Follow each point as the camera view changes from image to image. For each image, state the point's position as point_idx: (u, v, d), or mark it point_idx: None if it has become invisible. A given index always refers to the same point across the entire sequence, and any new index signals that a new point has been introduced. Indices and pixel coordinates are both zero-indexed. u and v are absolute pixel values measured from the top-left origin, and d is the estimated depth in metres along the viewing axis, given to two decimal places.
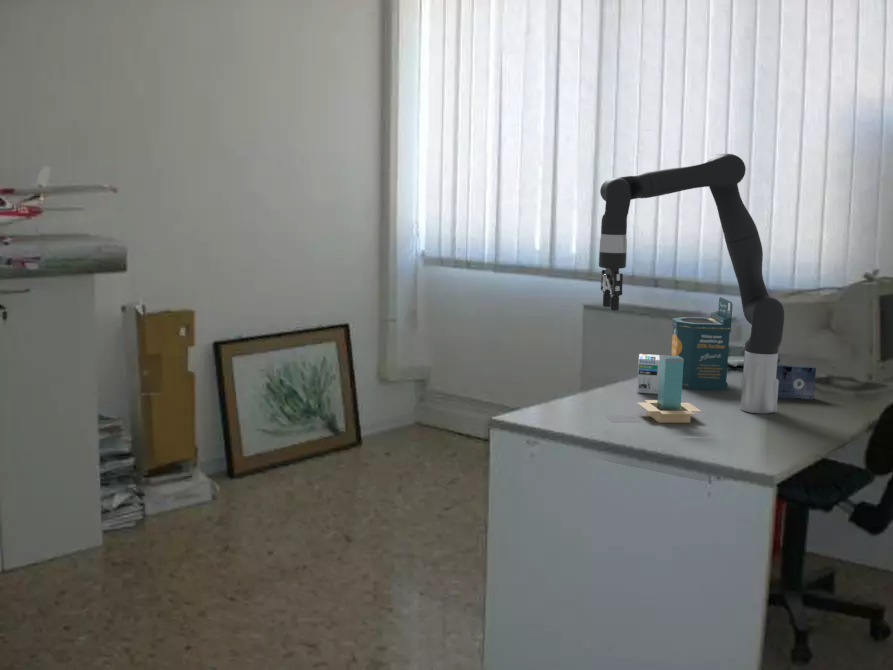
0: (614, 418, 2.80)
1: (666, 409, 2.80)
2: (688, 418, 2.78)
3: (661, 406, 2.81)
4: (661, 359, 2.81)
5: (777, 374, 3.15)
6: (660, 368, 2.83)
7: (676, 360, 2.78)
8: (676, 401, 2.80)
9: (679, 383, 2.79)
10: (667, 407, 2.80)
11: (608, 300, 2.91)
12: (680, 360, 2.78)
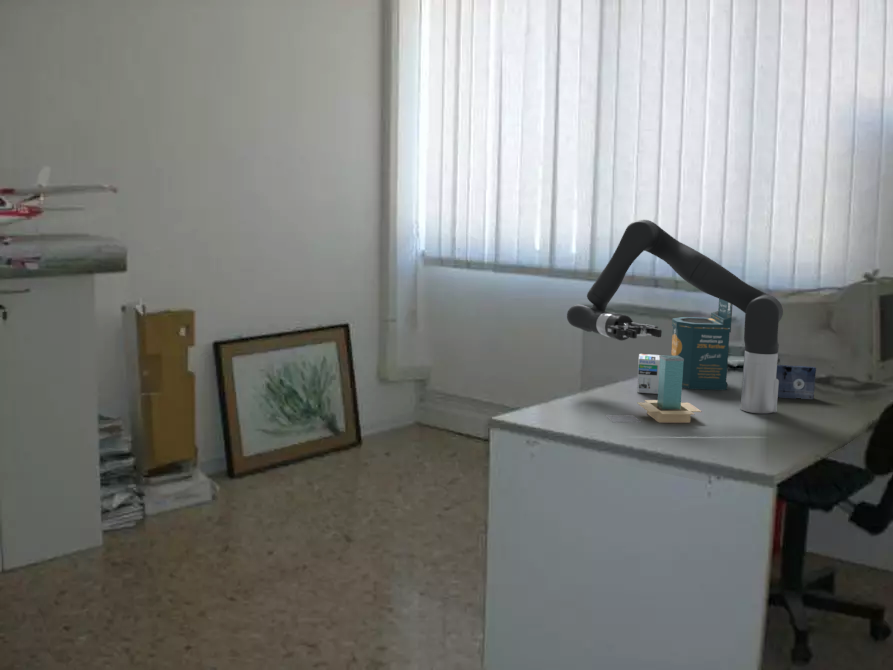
0: (614, 418, 2.80)
1: (666, 409, 2.80)
2: (688, 418, 2.78)
3: (661, 406, 2.81)
4: (661, 359, 2.81)
5: (777, 374, 3.15)
6: (660, 368, 2.83)
7: (676, 360, 2.78)
8: (676, 401, 2.80)
9: (679, 383, 2.79)
10: (667, 407, 2.80)
11: (655, 331, 2.93)
12: (680, 360, 2.78)
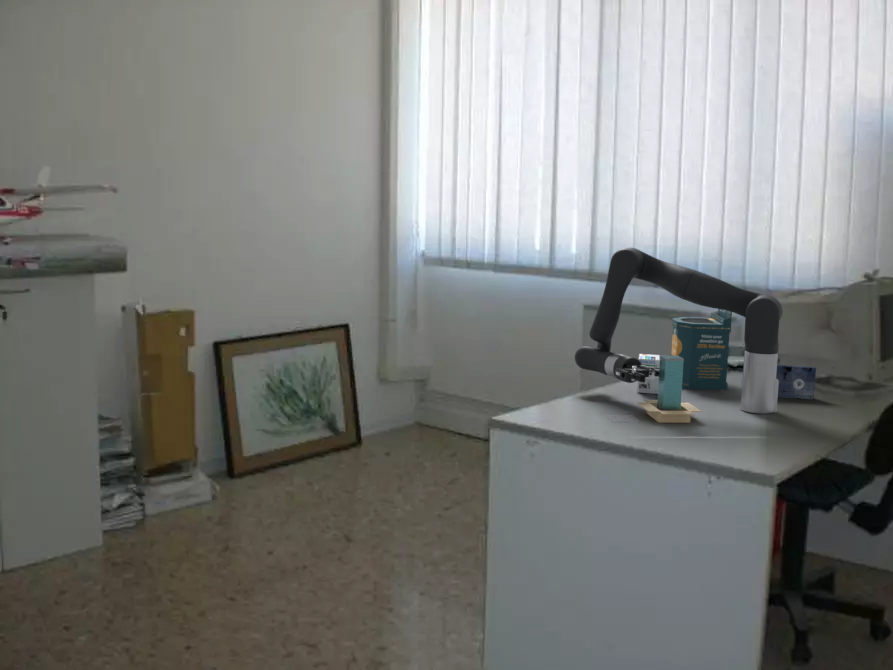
0: (614, 418, 2.80)
1: (666, 409, 2.80)
2: (688, 418, 2.78)
3: (661, 406, 2.81)
4: (661, 359, 2.81)
5: (777, 374, 3.15)
6: (660, 368, 2.83)
7: (676, 360, 2.78)
8: (676, 401, 2.80)
9: (679, 383, 2.79)
10: (667, 407, 2.80)
11: None
12: (680, 360, 2.78)
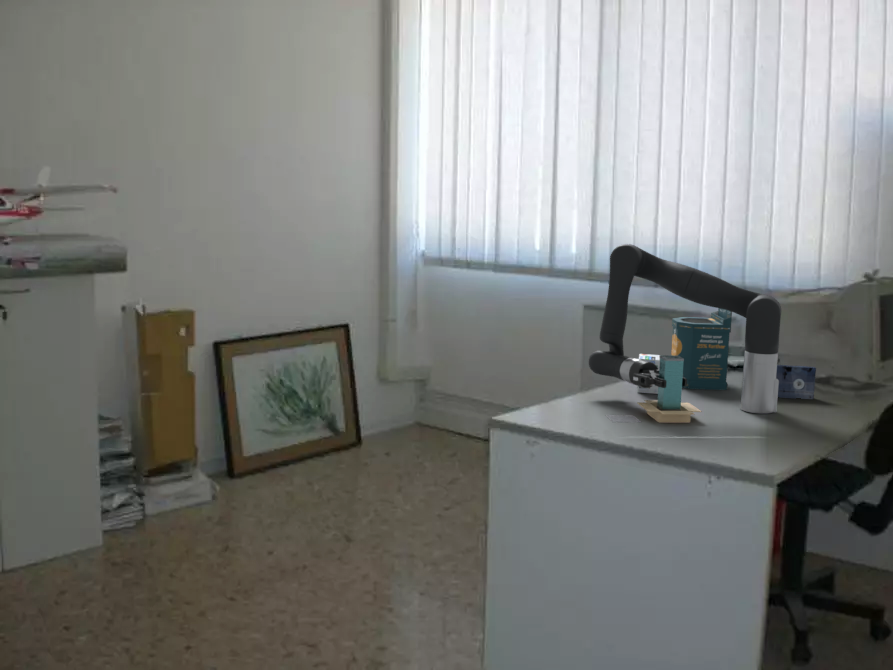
0: (614, 418, 2.80)
1: (666, 409, 2.80)
2: (688, 418, 2.78)
3: (661, 406, 2.81)
4: (661, 359, 2.81)
5: (777, 374, 3.15)
6: (660, 368, 2.83)
7: (676, 360, 2.78)
8: (676, 401, 2.80)
9: (679, 383, 2.79)
10: (667, 407, 2.80)
11: None
12: (680, 360, 2.78)
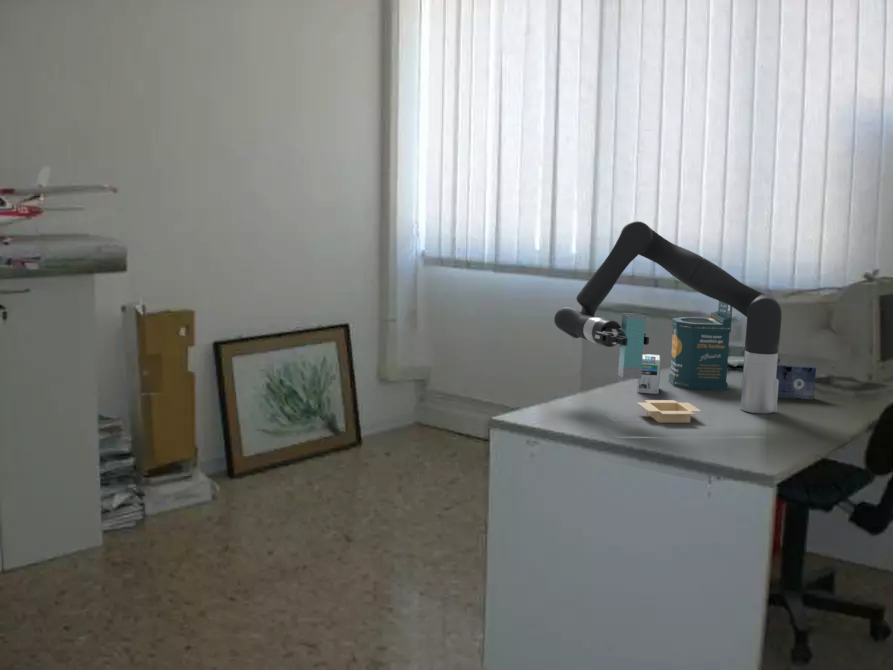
0: (614, 418, 2.80)
1: (627, 367, 2.77)
2: (688, 418, 2.78)
3: (622, 364, 2.78)
4: (623, 317, 2.78)
5: (777, 374, 3.15)
6: (622, 326, 2.79)
7: (638, 318, 2.75)
8: (638, 359, 2.77)
9: (640, 341, 2.76)
10: (628, 365, 2.77)
11: None
12: (642, 318, 2.75)
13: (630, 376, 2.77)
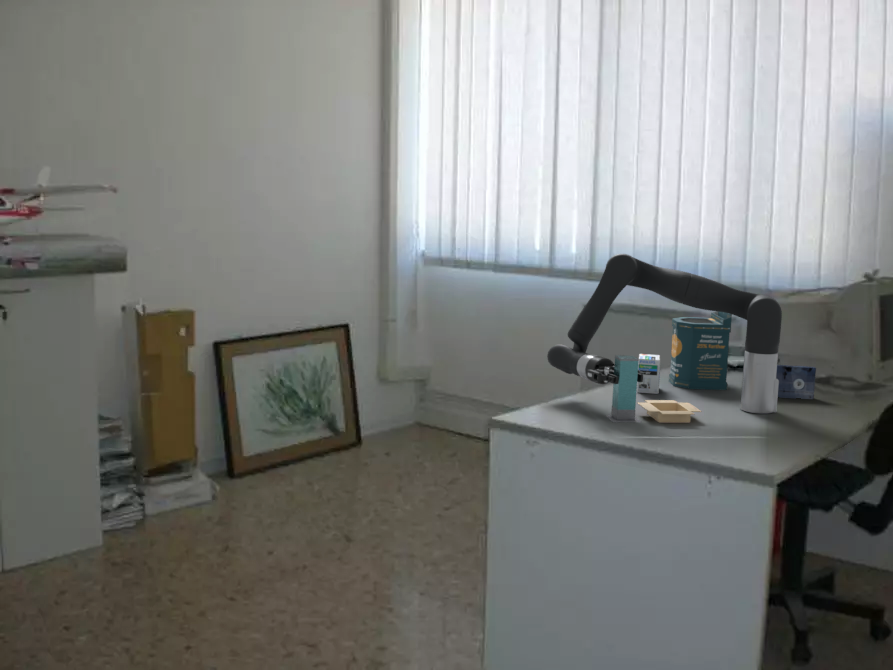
0: None
1: (621, 409, 2.78)
2: (688, 418, 2.78)
3: (616, 406, 2.79)
4: (616, 359, 2.79)
5: (777, 374, 3.15)
6: (615, 368, 2.80)
7: (631, 360, 2.76)
8: (631, 401, 2.78)
9: (634, 383, 2.77)
10: (622, 407, 2.78)
11: None
12: (635, 360, 2.76)
13: (624, 418, 2.78)
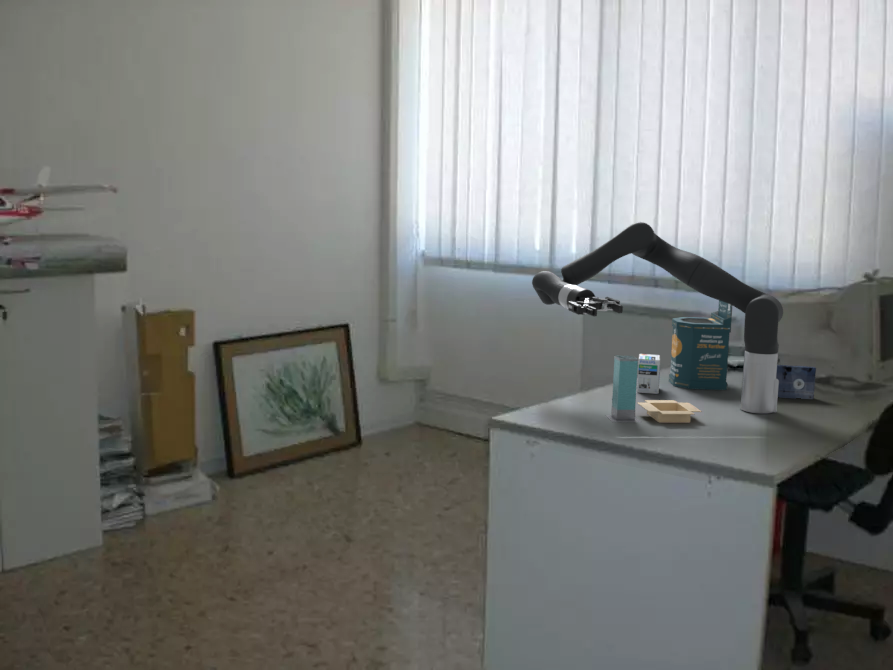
0: None
1: (621, 410, 2.78)
2: (688, 418, 2.78)
3: (616, 407, 2.79)
4: (615, 359, 2.79)
5: (777, 374, 3.15)
6: (614, 368, 2.80)
7: (630, 360, 2.76)
8: (631, 401, 2.78)
9: (633, 383, 2.77)
10: (622, 408, 2.78)
11: (616, 307, 2.89)
12: (634, 360, 2.76)
13: (624, 418, 2.78)
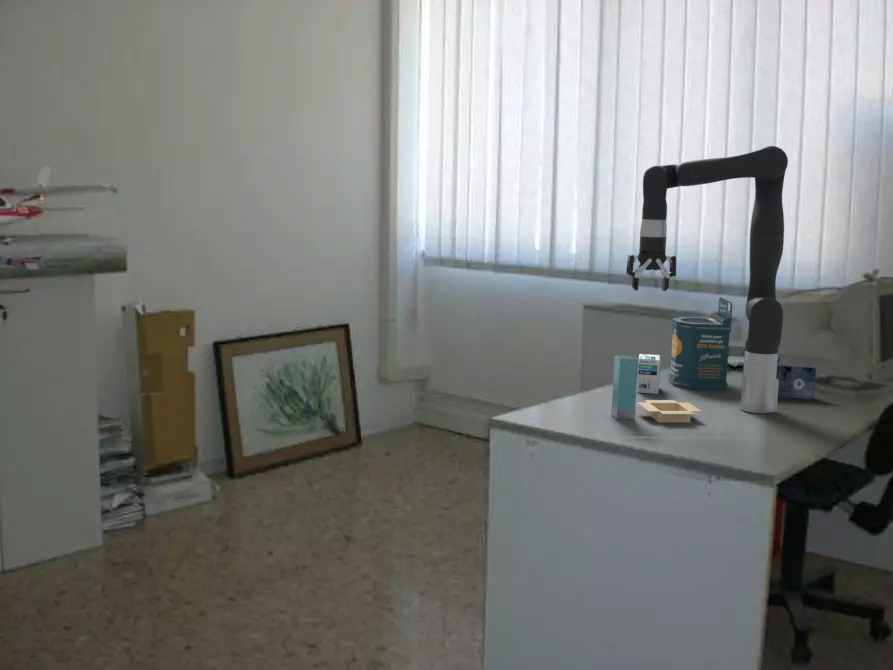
0: None
1: (621, 410, 2.78)
2: (688, 418, 2.78)
3: (616, 407, 2.79)
4: (615, 359, 2.79)
5: (777, 374, 3.15)
6: (614, 368, 2.80)
7: (630, 360, 2.76)
8: (631, 401, 2.78)
9: (633, 383, 2.77)
10: (622, 408, 2.78)
11: (663, 284, 3.00)
12: (634, 360, 2.76)
13: (624, 418, 2.78)
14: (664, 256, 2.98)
